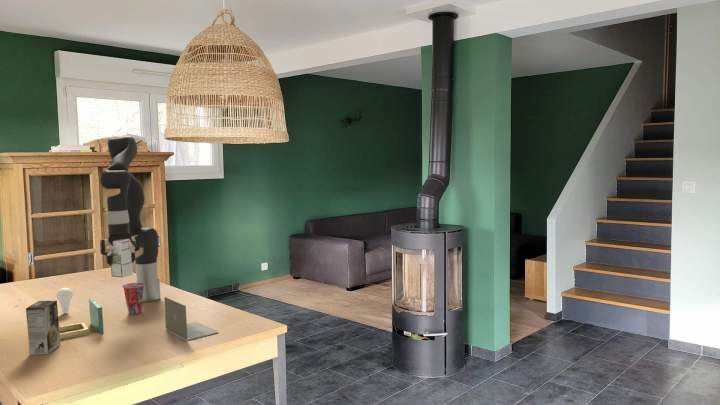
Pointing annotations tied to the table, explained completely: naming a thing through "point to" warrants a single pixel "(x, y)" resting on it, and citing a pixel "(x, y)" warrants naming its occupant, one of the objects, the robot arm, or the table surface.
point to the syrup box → (121, 259)
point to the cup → (134, 297)
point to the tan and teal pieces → (95, 320)
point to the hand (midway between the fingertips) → (121, 263)
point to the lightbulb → (64, 298)
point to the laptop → (183, 322)
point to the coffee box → (43, 327)
